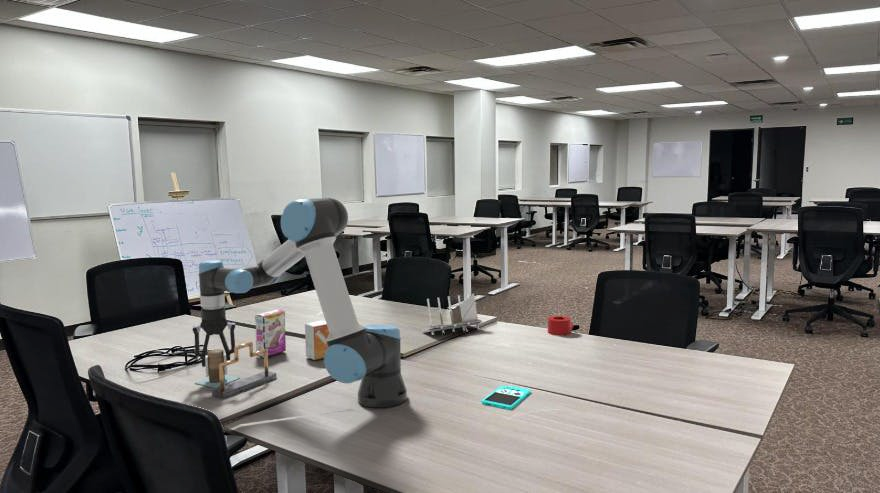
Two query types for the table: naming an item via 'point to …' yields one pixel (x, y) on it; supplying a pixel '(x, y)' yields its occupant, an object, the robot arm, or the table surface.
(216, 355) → the walnut peg
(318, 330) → the small box
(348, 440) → the table surface
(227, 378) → the mat
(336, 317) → the robot arm
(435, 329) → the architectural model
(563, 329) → the red saucepan
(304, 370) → the table surface
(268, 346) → the candy bar box
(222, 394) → the wire frame
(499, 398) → the handheld game console
